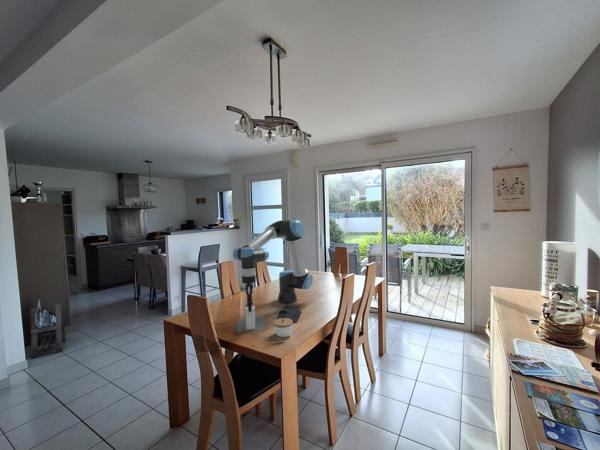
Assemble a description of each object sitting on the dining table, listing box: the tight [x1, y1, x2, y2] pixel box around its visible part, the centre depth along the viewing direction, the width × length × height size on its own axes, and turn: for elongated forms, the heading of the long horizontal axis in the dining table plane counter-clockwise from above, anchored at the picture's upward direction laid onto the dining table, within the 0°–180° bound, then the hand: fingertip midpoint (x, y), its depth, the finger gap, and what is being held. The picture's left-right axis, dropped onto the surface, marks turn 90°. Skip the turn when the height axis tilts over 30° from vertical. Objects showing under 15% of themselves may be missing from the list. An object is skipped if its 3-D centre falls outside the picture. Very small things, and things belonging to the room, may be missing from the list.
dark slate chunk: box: [276, 304, 302, 324], centre depth 176 cm, size 15×22×5 cm
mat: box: [235, 315, 266, 334], centre depth 164 cm, size 16×22×1 cm
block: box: [245, 305, 256, 330], centre depth 158 cm, size 5×6×12 cm
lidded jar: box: [273, 318, 294, 338], centre depth 148 cm, size 11×11×9 cm
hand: (250, 316), depth 151 cm, fingers closed
